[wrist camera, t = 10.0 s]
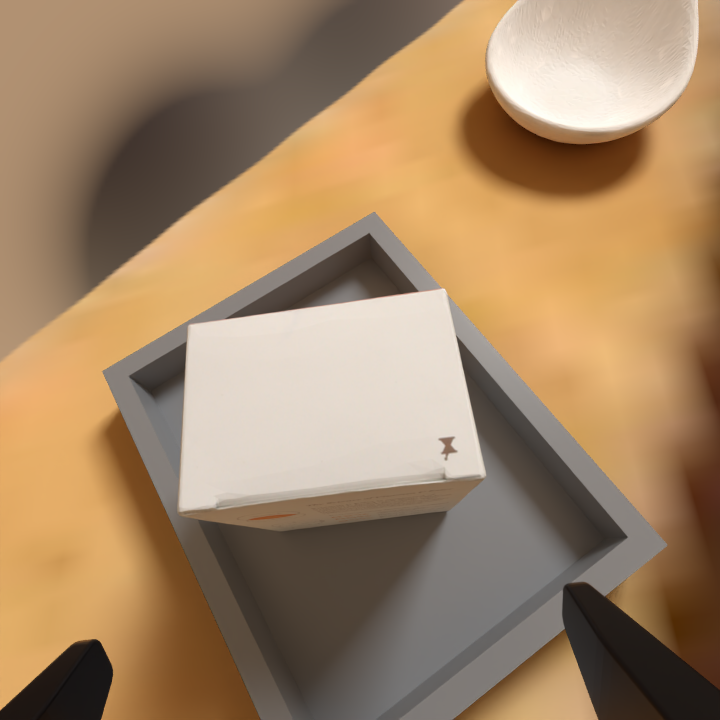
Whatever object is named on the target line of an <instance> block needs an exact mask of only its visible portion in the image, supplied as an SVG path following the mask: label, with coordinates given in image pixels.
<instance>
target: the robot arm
mask: <svg viewBox="0 0 720 720" xmlns="http://www.w3.org/2000/svg"><path fill="white" fill-rule="evenodd" d="M562 619H563V624H564V627H565V630H566V633H567V636H568V638H569V641H570V644H571V647H572V649H573V652H574V655H575V658H576V660H577V663H578V666H579V668H580V671H581V674H582V677H583V679H584V682H585V685H586V688H587V690H588V693H589V696H590V699H591V701H592V704H593V707H594V709H595V712H596V714H597V717H598V720H720V690H719V689H718V688H716V687H715V686H714V685H713V684H711V683H710V682H709V681H708V680H707V679H705V678H704V677H703V676H702V675H700V674H699V673H698V672H697V671H696V670H694V669H693V668H692V667H691V666H689V665H688V664H687V663H686V662H685V661H683V660H682V659H681V658H680V657H678V656H677V655H676V654H675V653H674V652H672V651H671V650H670V649H669V648H667V647H666V646H665V645H664V644H662V643H661V642H660V641H659V640H658V639H656V638H655V637H654V636H653V635H651V634H650V633H649V632H648V631H647V630H645V629H644V628H643V627H642V626H640V625H639V624H638V623H637V622H636V621H634V620H633V619H632V618H631V617H629V616H628V615H627V614H626V613H624V612H623V611H622V610H621V609H620V608H618V607H617V606H616V605H615V604H613V603H612V602H611V601H610V600H609V599H607V598H606V597H605V596H604V595H602V594H601V593H600V592H599V591H598V590H596V589H595V588H594V587H593V586H591V585H590V584H589V583H587V582H574V583H567V584H565V585H564V587H563V600H562ZM112 677H113V669H112V665H111V663H110V661H109V659H108V657H107V654H106V652H105V650H104V648H103V646H102V644H101V643H100V641H98V640H97V639H91V640H83V641H78V642H75V643H74V644H72V645H71V646H70V647H69V648H67V649H66V650H65V651H64V652H63V653H62V654H61V655H60V656H59V657H58V658H57V659H56V660H54V661H53V662H52V663H51V664H50V665H49V666H48V667H47V668H46V669H45V670H44V671H43V672H41V673H40V674H39V675H38V676H37V677H36V678H35V679H34V680H33V681H32V682H31V683H30V684H28V685H27V686H26V687H25V688H24V689H23V690H22V691H21V692H20V693H19V694H18V695H17V696H15V697H14V698H13V699H12V700H11V701H10V702H9V703H8V704H7V705H6V706H5V707H4V708H2V709H1V710H0V720H101V718H102V714H103V711H104V707H105V704H106V700H107V697H108V693H109V690H110V686H111V683H112Z"/></svg>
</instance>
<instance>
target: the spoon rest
mask: <svg viewBox="0 0 720 720" xmlns="http://www.w3.org/2000/svg"><path fill="white" fill-rule="evenodd" d="M698 27H699V25H698V0H518V1H517V2H516V3H515V4H514V5H513V6H512V7H511V8H510V9H509V10H508V11H507V13H506V14H505V15H504V17H503V18H502V19H501V20H500V22H499V23H498V25H497V27H496V28H495V30H494V31H493V33H492V35H491V37H490V40H489V42H488V46H487V50H486V58H485V63H486V74H487V78H488V81H489V85H490V87H491V90H492V92H493V94H494V96H495V98H496V99H497V101H498V102H499V104H500V105H501V107H502V108H503V109H504V110H505V112H506V113H507V114H508V115H509V116H510V117H511V118H512V119H513V120H515V121H516V122H517V123H518V124H520V125H521V126H522V127H524V128H525V129H527V130H529V131H530V132H532V133H534V134H536V135H538V136H541V137H544V138H547V139H550V140H553V141H556V142H561V143H569V144H592V143H601V142H608V141H611V140H615V139H618V138H622V137H625V136H627V135H630V134H632V133H634V132H636V131H639V130H641V129H643V128H644V127H646V126H648V125H650V124H651V123H653V122H654V121H655V120H657V119H658V118H660V117H661V116H662V115H663V114H664V113H665V112H666V111H668V110H669V109H670V108H671V107H672V106H673V105H674V104H675V102H676V101H677V100H678V99H679V97H680V96H681V95H682V93H683V92H684V90H685V88H686V87H687V85H688V82H689V80H690V78H691V75H692V72H693V69H694V65H695V60H696V55H697V47H698Z"/></svg>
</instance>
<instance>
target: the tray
mask: <svg viewBox="0 0 720 720" xmlns="http://www.w3.org/2000/svg"><path fill="white" fill-rule="evenodd" d="M440 288H441V287H440V286H439V285H438V283H437V282H436V281H435V280H434V279H433V278H432V277H431V275H430V274H429V273H428V272H427V271H426V270H425V269H424V268H423V266H422V265H421V264H420V263H419V262H418V261H417V260H416V258H415V257H414V256H413V255H412V254H411V253H410V252H409V250H408V249H407V248H406V247H405V246H404V245H403V244H402V243H401V241H400V240H399V239H398V238H397V237H396V236H395V235H394V233H393V232H392V231H391V230H390V229H389V228H388V227H387V225H386V224H385V223H384V222H383V221H382V220H381V219H380V218H379V216H378V215H377V214H376V213H375V212H373V213H371V214H370V215H368V216H366V217H364V218H363V219H361V220H359V221H358V222H356V223H354V224H353V225H351V226H349V227H347V228H346V229H344V230H342V231H341V232H339V233H337V234H335V235H334V236H332V237H330V238H329V239H327V240H325V241H324V242H322V243H320V244H318V245H317V246H315V247H313V248H312V249H310V250H308V251H306V252H305V253H303V254H301V255H300V256H298V257H296V258H295V259H293V260H291V261H289V262H288V263H286V264H284V265H283V266H281V267H279V268H277V269H276V270H274V271H272V272H271V273H269V274H267V275H266V276H264V277H262V278H260V279H259V280H257V281H255V282H254V283H252V284H250V285H249V286H247V287H245V288H243V289H242V290H240V291H238V292H237V293H235V294H233V295H231V296H230V297H228V298H226V299H225V300H223V301H221V302H220V303H218V304H216V305H214V306H213V307H211V308H209V309H208V310H206V311H204V312H202V313H201V314H199V315H197V316H196V317H194V318H192V319H191V320H189V321H187V322H185V323H184V324H182V325H180V326H179V327H177V328H175V329H173V330H172V331H170V332H168V333H167V334H165V335H163V336H162V337H160V338H158V339H156V340H155V341H153V342H151V343H150V344H148V345H146V346H144V347H143V348H141V349H139V350H138V351H136V352H134V353H133V354H131V355H129V356H127V357H126V358H124V359H122V360H121V361H119V362H117V363H115V364H114V365H112V366H110V367H109V368H107V369H105V370H104V371H102V372H103V374H104V376H105V379H106V381H107V383H108V385H109V387H110V389H111V392H112V394H113V396H114V398H115V400H116V403H117V405H118V407H119V409H120V411H121V414H122V416H123V418H124V420H125V422H126V425H127V427H128V429H129V431H130V433H131V436H132V438H133V440H134V442H135V444H136V447H137V449H138V451H139V453H140V455H141V458H142V460H143V462H144V464H145V466H146V469H147V471H148V473H149V475H150V477H151V480H152V482H153V484H154V486H155V488H156V491H157V493H158V495H159V497H160V499H161V502H162V504H163V506H164V508H165V510H166V513H167V515H168V517H169V519H170V521H171V524H172V526H173V528H174V530H175V532H176V535H177V537H178V539H179V541H180V543H181V546H182V548H183V550H184V552H185V554H186V557H187V559H188V561H189V563H190V565H191V568H192V570H193V572H194V574H195V576H196V579H197V581H198V583H199V585H200V587H201V590H202V592H203V594H204V596H205V598H206V601H207V603H208V605H209V607H210V609H211V611H212V614H213V616H214V618H215V620H216V622H217V625H218V627H219V629H220V631H221V633H222V636H223V638H224V640H225V642H226V644H227V647H228V649H229V651H230V653H231V655H232V658H233V660H234V662H235V664H236V666H237V669H238V671H239V673H240V675H241V677H242V680H243V682H244V684H245V686H246V688H247V691H248V693H249V695H250V697H251V699H252V702H253V704H254V706H255V708H256V710H257V713H258V715H259V717H260V719H261V720H453V719H454V718H455V717H457V716H458V715H459V714H460V713H462V712H463V711H464V710H465V709H467V708H468V707H469V706H470V705H471V704H473V703H474V702H475V701H476V700H478V699H479V698H480V697H481V696H483V695H484V694H485V693H486V692H487V691H489V690H490V689H491V688H492V687H494V686H495V685H496V684H497V683H499V682H500V681H501V680H502V679H503V678H505V677H506V676H507V675H508V674H510V673H511V672H512V671H513V670H515V669H516V668H517V667H518V666H520V665H521V664H522V663H523V662H524V661H526V660H527V659H528V658H529V657H531V656H532V655H533V654H534V653H536V652H537V651H538V650H539V649H540V648H542V647H543V646H544V645H545V644H547V643H548V642H549V641H550V640H552V639H553V638H554V637H555V636H556V635H558V634H559V633H560V632H561V631H563V630H564V629H565V627H564V624H563V619H562V600H563V587H564V585H565V584H567V583H574V582H587V583H589V584H590V585H591V586H593V587H594V588H595V589H596V590H598V591H599V592H600V593H601V594H602V595H604V596H606V595H607V594H608V593H609V592H611V591H612V590H613V589H614V588H616V587H617V586H618V585H619V584H621V583H622V582H623V581H624V580H625V579H627V578H628V577H629V576H630V575H632V574H633V573H634V572H635V571H637V570H638V569H639V568H640V567H641V566H643V565H644V564H645V563H646V562H648V561H649V560H650V559H651V558H653V557H654V556H655V555H656V554H658V553H659V552H660V551H661V550H662V549H664V548H665V547H666V546H667V544H666V543H665V542H664V540H663V539H662V538H661V537H660V536H659V535H658V534H657V532H656V531H655V530H654V529H653V528H652V527H651V526H650V524H649V523H648V522H647V521H646V520H645V519H644V518H643V517H642V515H641V514H640V513H639V512H638V511H637V510H636V509H635V507H634V506H633V505H632V504H631V503H630V502H629V501H628V499H627V498H626V497H625V496H624V495H623V494H622V493H621V491H620V490H619V489H618V488H617V487H616V486H615V485H614V484H613V482H612V481H611V480H610V479H609V478H608V477H607V476H606V474H605V473H604V472H603V471H602V470H601V469H600V468H599V466H598V465H597V464H596V463H595V462H594V461H593V460H592V459H591V457H590V456H589V455H588V454H587V453H586V452H585V451H584V449H583V448H582V447H581V446H580V445H579V444H578V443H577V441H576V440H575V439H574V438H573V437H572V436H571V435H570V434H569V432H568V431H567V430H566V429H565V428H564V427H563V426H562V424H561V423H560V422H559V421H558V420H557V419H556V418H555V416H554V415H553V414H552V413H551V412H550V411H549V410H548V409H547V407H546V406H545V405H544V404H543V403H542V402H541V401H540V399H539V398H538V397H537V396H536V395H535V394H534V393H533V391H532V390H531V389H530V388H529V387H528V386H527V385H526V383H525V382H524V381H523V380H522V379H521V378H520V377H519V376H518V374H517V373H516V372H515V371H514V370H513V369H512V368H511V366H510V365H509V364H508V363H507V362H506V361H505V360H504V358H503V357H502V356H501V355H500V354H499V353H498V352H497V351H496V349H495V348H494V347H493V346H492V345H491V344H490V343H489V341H488V340H487V339H486V338H485V337H484V336H483V335H482V333H481V332H480V331H479V330H478V329H477V328H476V327H475V326H474V324H473V323H472V322H471V321H470V320H469V319H468V318H467V316H466V315H465V314H464V313H463V312H462V311H461V310H460V308H459V307H458V306H457V305H456V304H455V303H454V302H453V300H452V299H451V298H450V297H449V296H448V295H447V296H448V301H449V305H450V310H451V315H452V319H453V324H454V329H455V333H456V338H457V343H458V347H459V352H460V357H461V361H462V366H463V371H464V375H465V380H466V385H467V389H468V394H469V398H470V403H471V407H472V412H473V416H474V421H475V425H476V430H477V435H478V439H479V444H480V449H481V453H482V458H483V462H484V467H485V471H486V478H485V479H484V480H483V481H482V482H480V484H478V485H477V486H476V487H475V488H474V489H472V490H471V491H470V492H469V493H468V494H467V495H466V496H465V497H464V498H463V499H462V500H461V501H460V502H459V503H458V504H456V505H455V506H454V507H453V508H452V509H451V510H449V511H443V512H433V513H425V514H417V515H408V516H400V517H392V518H384V519H376V520H368V521H360V522H352V523H344V524H336V525H328V526H320V527H312V528H304V529H296V530H288V531H282V532H279V531H273V530H267V529H260V528H254V527H247V526H240V525H234V524H226V523H220V522H213V521H206V520H199V519H193V518H187V517H182V516H180V515H179V514H178V511H177V505H178V489H179V470H180V451H181V433H182V415H183V397H184V379H185V362H186V344H187V328H188V325H189V324H193V323H202V322H209V321H216V320H223V319H231V318H239V317H246V316H252V315H259V314H266V313H274V312H281V311H288V310H294V309H301V308H308V307H315V306H323V305H330V304H337V303H344V302H350V301H357V300H364V299H371V298H378V297H384V296H391V295H398V294H405V293H412V292H420V291H427V290H434V289H440Z"/></svg>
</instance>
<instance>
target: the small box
mask: <svg viewBox="0 0 720 720" xmlns="http://www.w3.org/2000/svg"><path fill="white" fill-rule="evenodd" d="M485 478H486V471H485V467H484V462H483V458H482V453H481V449H480V444H479V439H478V435H477V430H476V425H475V421H474V416H473V412H472V407H471V403H470V398H469V394H468V389H467V385H466V380H465V375H464V371H463V366H462V361H461V357H460V352H459V347H458V343H457V338H456V333H455V329H454V324H453V319H452V315H451V310H450V305H449V301H448V296H447V292H446V290H445V289H444V288H440V289H434V290H427V291H420V292H412V293H405V294H398V295H391V296H384V297H378V298H371V299H364V300H357V301H350V302H344V303H337V304H330V305H323V306H315V307H308V308H301V309H294V310H288V311H281V312H274V313H266V314H259V315H252V316H246V317H239V318H231V319H223V320H216V321H209V322H202V323H193V324H189V325H188V328H187V344H186V362H185V379H184V397H183V415H182V433H181V451H180V470H179V489H178V505H177V511H178V514H179V515H180V516H182V517H187V518H193V519H199V520H206V521H213V522H220V523H226V524H234V525H240V526H247V527H254V528H260V529H267V530H273V531H279V532H282V531H288V530H296V529H304V528H312V527H320V526H328V525H336V524H344V523H352V522H360V521H368V520H376V519H384V518H392V517H400V516H408V515H417V514H425V513H433V512H443V511H449V510H451V509H452V508H453V507H454V506H455V505H456V504H458V503H459V502H460V501H461V500H462V499H463V498H464V497H465V496H466V495H467V494H468V493H469V492H470V491H471V490H472V489H474V488H475V487H476V486H477V485H478V484H480V482H482V481H483V480H484V479H485Z"/></svg>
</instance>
